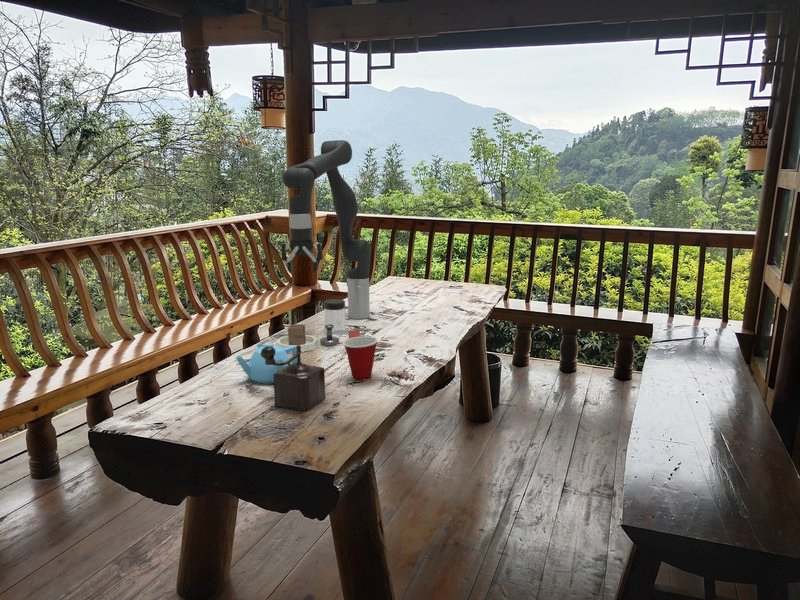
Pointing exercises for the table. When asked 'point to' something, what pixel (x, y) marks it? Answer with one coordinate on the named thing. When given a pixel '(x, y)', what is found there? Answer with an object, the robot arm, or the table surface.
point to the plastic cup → (361, 356)
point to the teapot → (258, 367)
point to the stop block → (296, 334)
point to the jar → (335, 313)
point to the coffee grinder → (296, 382)
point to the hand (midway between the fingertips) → (302, 272)
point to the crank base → (329, 337)
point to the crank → (351, 333)
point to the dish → (309, 345)
